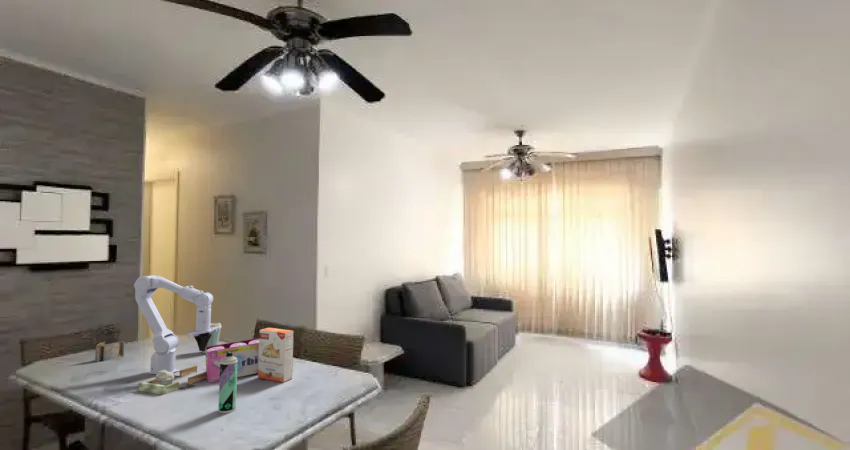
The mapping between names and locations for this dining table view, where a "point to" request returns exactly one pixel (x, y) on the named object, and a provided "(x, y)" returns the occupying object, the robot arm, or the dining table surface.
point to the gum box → (242, 350)
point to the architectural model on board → (109, 351)
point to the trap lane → (154, 387)
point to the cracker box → (275, 354)
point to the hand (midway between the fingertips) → (202, 350)
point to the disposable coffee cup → (214, 336)
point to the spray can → (228, 383)
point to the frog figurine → (165, 377)
